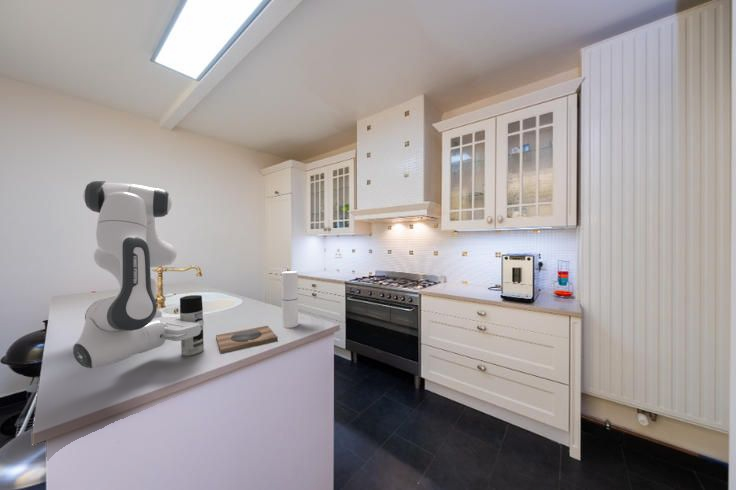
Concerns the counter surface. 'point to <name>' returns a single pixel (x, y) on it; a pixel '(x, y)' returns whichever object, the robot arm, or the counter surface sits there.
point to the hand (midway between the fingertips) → (194, 320)
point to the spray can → (192, 313)
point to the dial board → (245, 338)
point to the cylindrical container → (289, 299)
